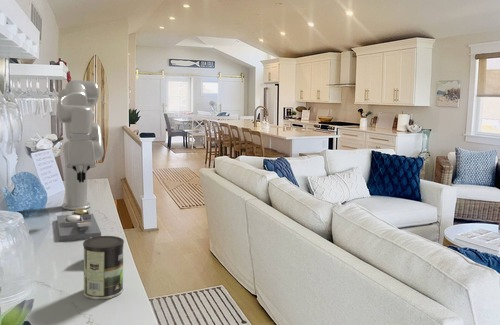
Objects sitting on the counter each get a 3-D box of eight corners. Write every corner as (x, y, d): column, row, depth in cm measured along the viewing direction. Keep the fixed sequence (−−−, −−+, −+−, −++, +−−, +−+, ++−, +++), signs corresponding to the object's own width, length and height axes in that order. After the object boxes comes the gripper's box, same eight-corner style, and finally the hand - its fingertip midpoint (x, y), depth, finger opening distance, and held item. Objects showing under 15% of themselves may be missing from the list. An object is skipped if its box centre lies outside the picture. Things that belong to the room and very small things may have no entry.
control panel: (57, 220, 176) (57, 211, 176) (92, 218, 183) (92, 209, 182) (59, 241, 152) (59, 231, 151) (101, 237, 158) (101, 227, 157)
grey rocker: (76, 225, 162) (76, 223, 163) (89, 224, 164) (88, 222, 164) (78, 226, 154) (78, 223, 154) (91, 225, 156) (91, 222, 156)
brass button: (74, 212, 177) (74, 209, 176) (86, 212, 179) (86, 208, 178) (75, 215, 173) (75, 211, 172) (87, 214, 175) (87, 211, 174)
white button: (67, 219, 167) (67, 215, 167) (79, 218, 169) (79, 214, 169) (67, 222, 163) (67, 218, 163) (80, 221, 165) (80, 217, 165)
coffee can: (123, 282, 121) (123, 234, 119) (123, 298, 112) (123, 246, 110) (84, 284, 118) (84, 236, 116) (81, 301, 109) (81, 248, 107)
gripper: (99, 136, 178) (99, 179, 180) (60, 136, 171) (60, 180, 174) (102, 138, 171) (101, 183, 174) (61, 138, 165) (61, 184, 167)
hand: (81, 181), depth 174 cm, fingers closed
